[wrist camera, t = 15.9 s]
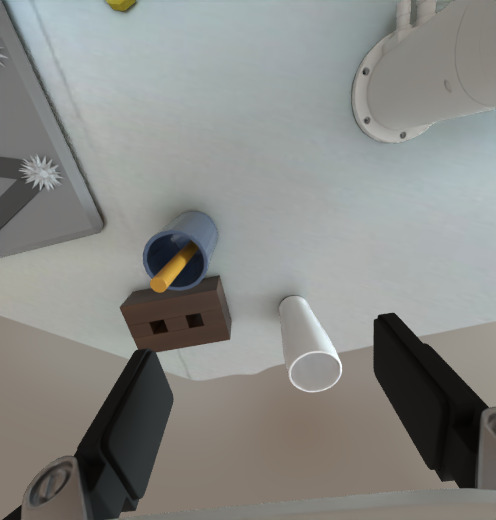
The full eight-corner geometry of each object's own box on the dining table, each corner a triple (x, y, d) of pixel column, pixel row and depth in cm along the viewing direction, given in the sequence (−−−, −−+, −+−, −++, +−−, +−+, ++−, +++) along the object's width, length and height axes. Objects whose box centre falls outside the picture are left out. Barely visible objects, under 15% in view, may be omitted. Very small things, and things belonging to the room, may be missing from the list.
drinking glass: (268, 317, 45) (279, 385, 31) (283, 285, 43) (302, 344, 29) (302, 327, 46) (327, 398, 32) (318, 297, 44) (353, 359, 30)
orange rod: (197, 230, 39) (147, 278, 23) (206, 229, 39) (163, 276, 23) (199, 240, 39) (153, 293, 24) (209, 238, 39) (168, 291, 24)
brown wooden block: (132, 291, 43) (119, 307, 39) (219, 275, 42) (216, 289, 38) (150, 336, 47) (140, 355, 42) (231, 321, 46) (230, 339, 41)
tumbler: (165, 216, 39) (133, 237, 27) (211, 206, 38) (198, 224, 27) (179, 259, 41) (155, 295, 30) (222, 251, 41) (214, 284, 30)
